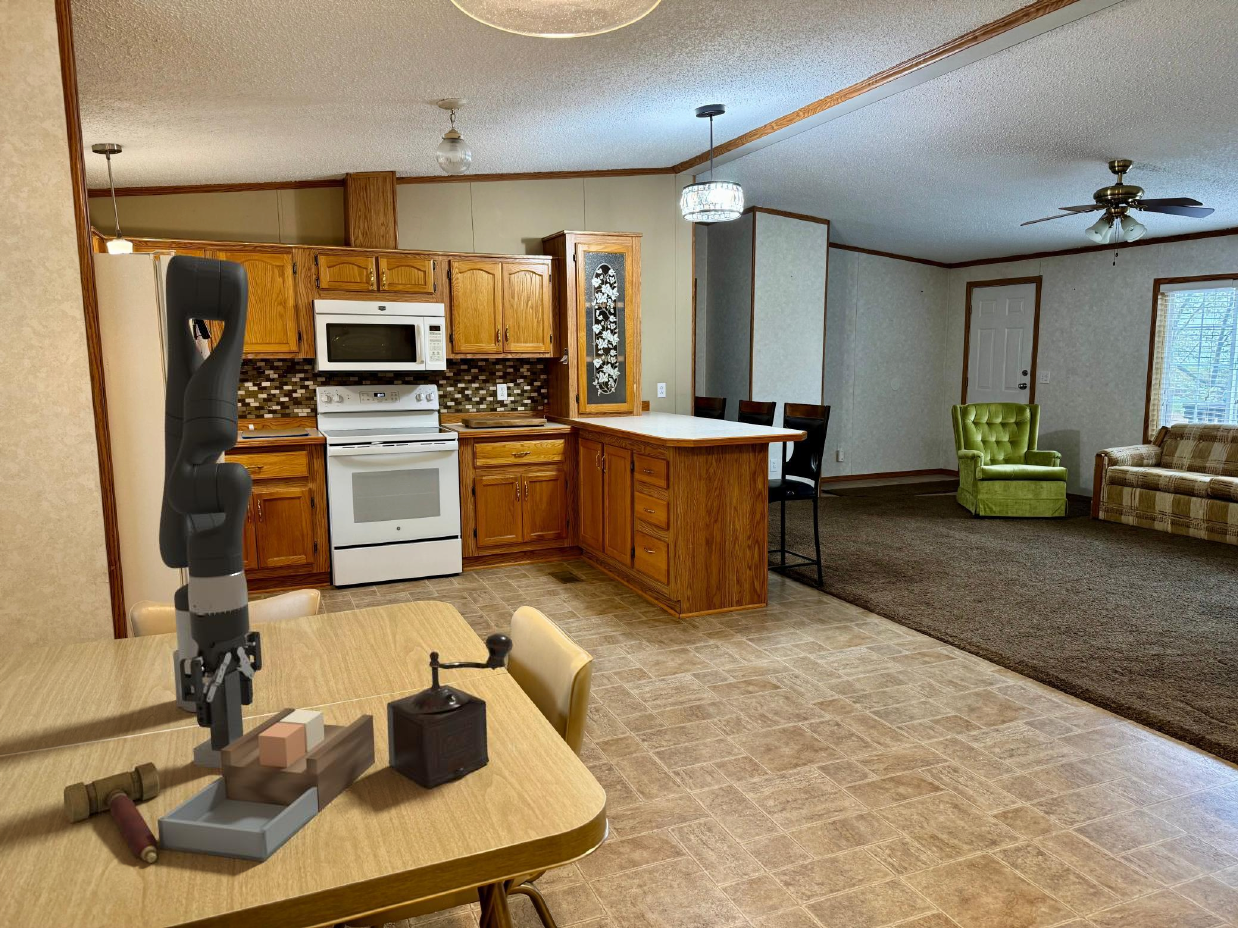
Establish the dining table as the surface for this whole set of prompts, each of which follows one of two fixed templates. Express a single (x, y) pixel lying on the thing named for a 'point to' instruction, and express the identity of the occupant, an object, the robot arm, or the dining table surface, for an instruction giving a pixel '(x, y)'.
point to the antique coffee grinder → (442, 725)
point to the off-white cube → (308, 726)
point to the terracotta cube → (281, 744)
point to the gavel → (119, 805)
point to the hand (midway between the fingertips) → (226, 714)
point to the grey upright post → (222, 721)
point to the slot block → (299, 765)
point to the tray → (233, 824)
